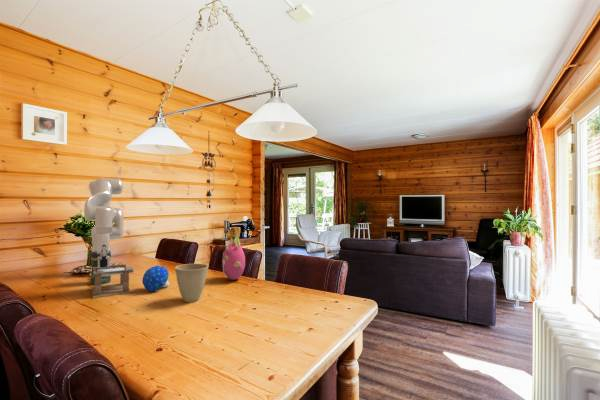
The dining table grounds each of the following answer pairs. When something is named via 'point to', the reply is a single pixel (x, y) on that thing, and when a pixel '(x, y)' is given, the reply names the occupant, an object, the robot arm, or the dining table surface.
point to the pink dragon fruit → (233, 259)
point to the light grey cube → (99, 262)
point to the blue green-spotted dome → (155, 278)
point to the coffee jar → (95, 264)
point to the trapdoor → (115, 270)
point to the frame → (111, 289)
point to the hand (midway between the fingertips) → (103, 265)
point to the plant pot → (191, 280)
